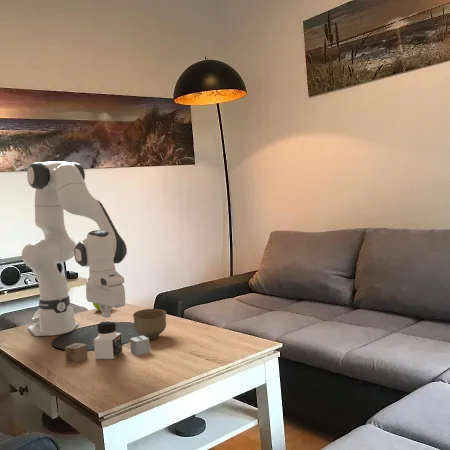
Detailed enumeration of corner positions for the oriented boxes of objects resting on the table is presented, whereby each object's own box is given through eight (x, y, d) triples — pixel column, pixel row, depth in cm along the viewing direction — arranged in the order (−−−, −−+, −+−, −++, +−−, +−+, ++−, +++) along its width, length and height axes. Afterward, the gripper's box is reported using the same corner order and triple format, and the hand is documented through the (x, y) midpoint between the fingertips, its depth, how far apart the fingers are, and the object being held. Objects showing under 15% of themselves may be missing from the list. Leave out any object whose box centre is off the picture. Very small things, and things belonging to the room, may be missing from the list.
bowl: (144, 345, 181) (142, 319, 180) (129, 338, 191) (127, 312, 190) (173, 337, 188) (172, 312, 187) (158, 330, 198) (156, 306, 198)
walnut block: (66, 361, 169) (65, 346, 169) (77, 356, 174) (76, 342, 173) (76, 363, 167) (75, 348, 166) (87, 358, 171) (86, 343, 171)
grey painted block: (131, 352, 175) (129, 337, 174) (143, 348, 178) (142, 334, 177) (136, 355, 171) (135, 341, 170) (149, 352, 173) (148, 337, 173)
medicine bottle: (114, 359, 168) (111, 325, 167) (94, 359, 169) (92, 325, 168) (122, 352, 175) (120, 319, 174) (104, 352, 176) (101, 319, 175)
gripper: (79, 276, 175) (83, 315, 176) (110, 281, 160) (114, 323, 162) (95, 273, 179) (99, 311, 181) (127, 278, 165) (130, 318, 166)
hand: (106, 316), depth 171 cm, fingers closed
